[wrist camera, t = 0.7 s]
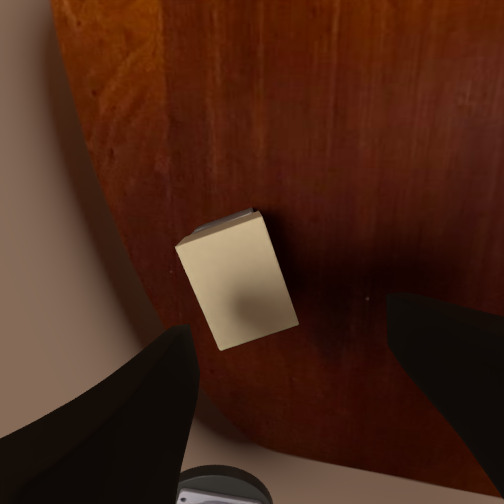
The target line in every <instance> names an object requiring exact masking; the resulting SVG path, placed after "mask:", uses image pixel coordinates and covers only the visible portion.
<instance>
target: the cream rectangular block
mask: <svg viewBox="0 0 504 504" xmlns="http://www.w3.org/2000/svg"><path fill="white" fill-rule="evenodd" d="M175 248H176V250H177V253H178V255H179V257H180V260H181V262H182V264H183V267H184V269H185V271H186V273H187V276H188V278H189V280H190V283H191V285H192V287H193V290H194V292H195V294H196V297H197V299H198V301H199V304H200V306H201V308H202V310H203V313H204V315H205V317H206V320H207V322H208V324H209V327H210V329H211V331H212V334H213V336H214V338H215V341H216V343H217V345H218V348H219V350H220V351H221V350H224V349H227V348H230V347H233V346H236V345H239V344H242V343H245V342H248V341H251V340H254V339H257V338H260V337H263V336H266V335H269V334H272V333H275V332H278V331H281V330H284V329H287V328H290V327H293V326H296V325H299V323H298V320H297V317H296V314H295V311H294V308H293V305H292V302H291V299H290V296H289V293H288V290H287V287H286V284H285V281H284V279H283V276H282V273H281V270H280V267H279V264H278V261H277V258H276V255H275V252H274V249H273V246H272V243H271V240H270V237H269V234H268V232H267V229H266V226H265V223H264V220H263V217H262V215H261V213H260V212H259V211H257V212H254V213H251V214H249V215H246V216H243V217H240V218H237V219H234V220H232V221H229V222H226V223H223V224H220V225H218V226H215V227H212V228H209V229H206V230H203V231H201V232H198V233H195V234H192V235H189V236H187V237H185V238H184V239H183V240H182V241H181V242H180V243H179V244H178V245H177V246H176V247H175Z"/></svg>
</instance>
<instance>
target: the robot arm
mask: <svg viewBox="0 0 504 504" xmlns="http://www.w3.org/2000/svg"><path fill="white" fill-rule="evenodd" d="M386 303H387V340H388V346H389V347H390V349H391V351H392V352H393V354H394V355H395V357H396V359H397V360H398V362H399V363H400V365H401V366H402V368H403V369H404V370H405V371H406V373H407V374H408V375H409V376H410V378H411V379H412V380H413V381H414V382H415V384H416V385H417V386H418V387H419V388H420V389H421V391H422V392H423V393H424V394H425V395H426V396H427V398H428V399H429V400H430V401H431V402H432V404H433V405H434V406H435V407H436V408H437V409H438V411H439V412H440V413H441V414H442V415H443V416H444V418H445V419H446V420H447V421H448V422H449V423H450V425H451V426H452V427H453V428H454V430H455V431H456V432H457V433H458V435H459V436H460V437H461V439H462V440H463V441H464V443H465V444H466V445H467V447H468V448H469V450H470V451H471V452H472V454H473V455H474V457H475V458H476V460H477V461H478V462H479V464H480V465H481V467H482V468H483V469H484V471H485V472H486V474H487V475H488V477H489V478H490V480H491V481H492V482H493V484H494V485H495V487H496V488H497V490H498V491H499V493H500V494H501V496H502V497H503V499H504V317H503V316H499V315H495V314H490V313H486V312H482V311H478V310H474V309H470V308H467V307H463V306H459V305H455V304H452V303H448V302H444V301H441V300H437V299H433V298H430V297H426V296H422V295H418V294H413V293H408V292H399V293H392V294H386ZM199 378H200V370H199V365H198V361H197V356H196V352H195V347H194V343H193V338H192V334H191V329H190V324H184V325H177V326H172V327H171V328H169V329H168V330H166V331H165V332H164V333H163V334H161V335H160V336H159V337H158V338H157V339H155V340H154V341H153V342H152V343H151V344H149V345H148V346H147V347H146V348H144V349H143V350H142V351H141V352H140V353H138V354H137V355H136V356H135V357H134V358H132V359H131V360H130V361H128V362H127V363H126V364H124V365H123V366H122V367H121V368H119V369H118V370H116V371H115V372H114V373H113V374H111V375H110V376H108V377H107V378H106V379H104V380H103V381H101V382H100V383H98V384H97V385H95V386H94V387H92V388H91V389H89V390H88V391H86V392H85V393H83V394H81V395H80V396H78V397H77V398H75V399H74V400H72V401H70V402H69V403H66V404H65V405H63V406H61V407H60V408H58V409H56V410H54V411H52V412H50V413H49V414H47V415H45V416H43V417H42V418H40V419H38V420H36V421H34V422H32V423H30V424H29V425H27V426H25V427H23V428H21V429H19V430H17V431H15V432H13V433H11V434H9V435H7V436H5V437H2V438H0V504H175V501H176V495H177V488H178V481H179V476H180V471H181V466H182V461H183V457H184V453H185V449H186V444H187V441H188V436H189V432H190V428H191V424H192V419H193V416H194V411H195V407H196V402H197V397H198V389H199ZM177 504H262V502H261V501H260V500H255V499H250V498H244V497H238V496H232V495H227V494H221V493H215V492H209V491H203V490H198V489H192V488H182V489H181V490H180V493H179V497H178V500H177Z"/></svg>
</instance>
